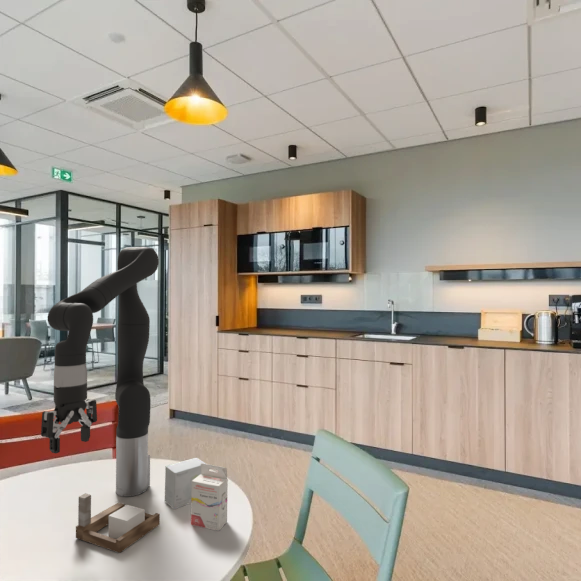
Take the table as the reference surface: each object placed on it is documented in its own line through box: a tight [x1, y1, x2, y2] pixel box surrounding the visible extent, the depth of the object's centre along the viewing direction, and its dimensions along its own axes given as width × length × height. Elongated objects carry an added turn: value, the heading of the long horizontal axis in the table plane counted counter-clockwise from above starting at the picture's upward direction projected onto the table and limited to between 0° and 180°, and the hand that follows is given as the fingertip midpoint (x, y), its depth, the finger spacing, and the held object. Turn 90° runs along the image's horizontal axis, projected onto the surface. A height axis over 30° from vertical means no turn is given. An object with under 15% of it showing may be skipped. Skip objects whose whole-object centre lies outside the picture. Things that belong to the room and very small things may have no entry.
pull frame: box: [75, 492, 161, 554], centre depth 108 cm, size 13×15×10 cm
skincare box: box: [164, 457, 207, 510], centre depth 125 cm, size 10×6×10 cm, turn 132°
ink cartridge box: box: [190, 463, 229, 532], centre depth 112 cm, size 9×5×15 cm, turn 71°
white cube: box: [107, 504, 146, 539], centre depth 106 cm, size 6×6×6 cm
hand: (70, 446), depth 107 cm, fingers open, 8 cm apart
